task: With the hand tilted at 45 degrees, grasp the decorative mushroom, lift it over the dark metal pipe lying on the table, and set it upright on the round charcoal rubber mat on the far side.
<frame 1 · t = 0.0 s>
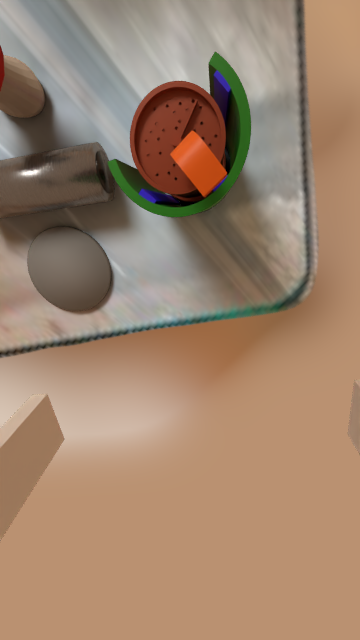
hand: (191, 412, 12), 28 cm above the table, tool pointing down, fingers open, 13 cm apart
metal pipe: (46, 186, 36), on the table
motor: (196, 171, 33), on the table
decorative mushroom: (21, 92, 32), on the table
rubber mat: (70, 270, 40), on the table
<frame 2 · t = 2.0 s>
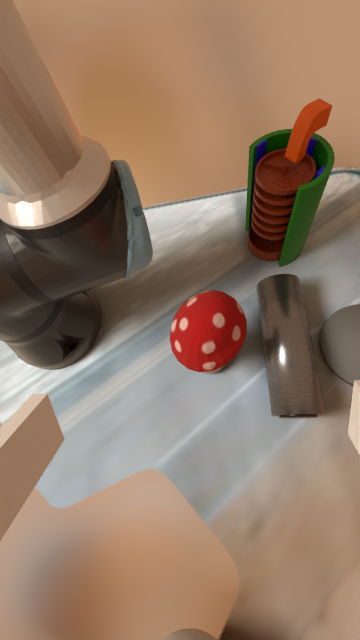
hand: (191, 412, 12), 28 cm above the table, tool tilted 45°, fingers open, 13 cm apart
metal pipe: (283, 350, 40), on the table
motor: (273, 240, 47), on the table
decorative mushroom: (213, 353, 41), on the table
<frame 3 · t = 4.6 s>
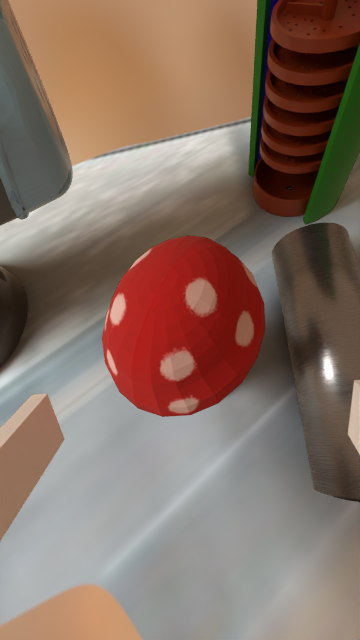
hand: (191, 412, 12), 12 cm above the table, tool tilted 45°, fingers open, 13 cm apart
metal pipe: (321, 358, 23), on the table
motor: (292, 187, 31), on the table
decorative mushroom: (201, 366, 25), on the table
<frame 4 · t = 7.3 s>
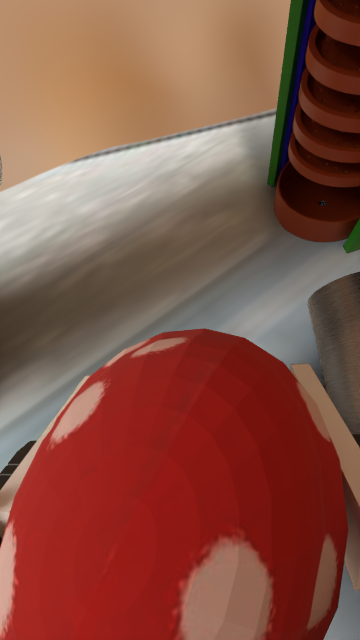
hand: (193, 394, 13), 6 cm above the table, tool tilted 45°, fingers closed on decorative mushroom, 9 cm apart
motor: (325, 201, 23), on the table
decorative mushroom: (207, 459, 17), on the table, touching gripper
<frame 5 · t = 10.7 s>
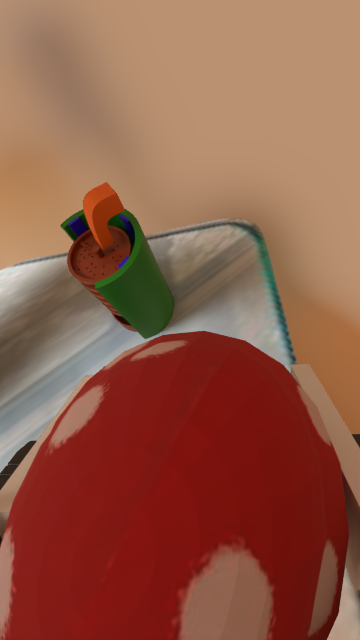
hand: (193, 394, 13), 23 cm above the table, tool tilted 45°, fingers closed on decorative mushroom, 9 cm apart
motor: (144, 305, 42), on the table
decorative mushroom: (207, 460, 17), point 17 cm above the table, touching gripper
when the fingers open (8 cm above the table, at t = 14.5 s): decorative mushroom drops 1 cm, resting on rubber mat.
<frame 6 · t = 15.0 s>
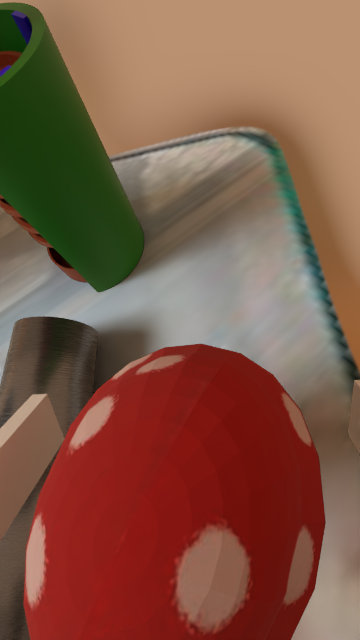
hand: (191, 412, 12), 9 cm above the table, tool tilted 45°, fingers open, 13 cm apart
metal pipe: (62, 458, 21), on the table
motor: (101, 246, 28), on the table
decorative mushroom: (208, 460, 18), point 1 cm above the table, touching rubber mat
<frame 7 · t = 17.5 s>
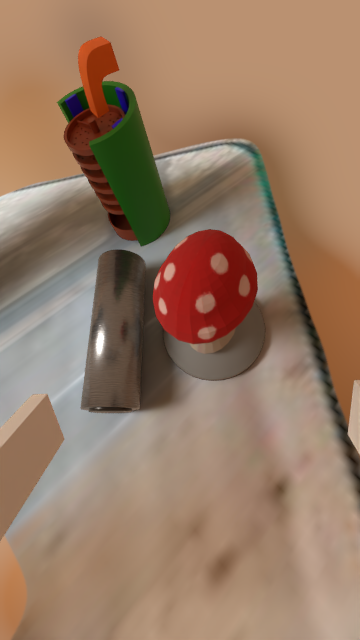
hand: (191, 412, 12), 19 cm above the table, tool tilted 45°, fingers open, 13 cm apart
metal pipe: (126, 337, 35), on the table
motor: (141, 218, 43), on the table
decorative mushroom: (212, 330, 33), point 1 cm above the table, touching rubber mat
rubber mat: (212, 330, 33), on the table
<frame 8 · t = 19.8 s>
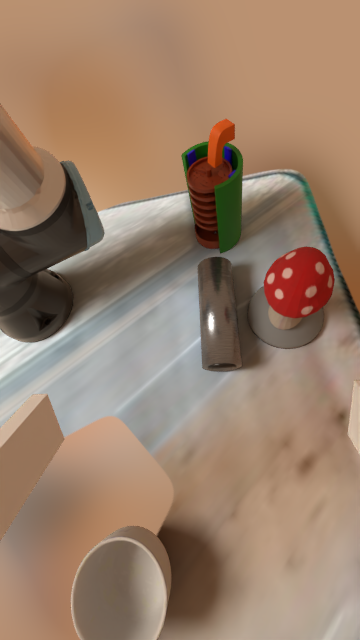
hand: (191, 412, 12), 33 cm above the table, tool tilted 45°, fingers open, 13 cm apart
metal pipe: (218, 319, 48), on the table
teacup: (132, 577, 37), on the table
motor: (217, 231, 56), on the table
decorative mushroom: (284, 313, 46), point 1 cm above the table, touching rubber mat
rubber mat: (284, 314, 47), on the table
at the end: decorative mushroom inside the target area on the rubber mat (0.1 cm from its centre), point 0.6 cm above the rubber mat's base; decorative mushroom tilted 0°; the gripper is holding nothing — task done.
